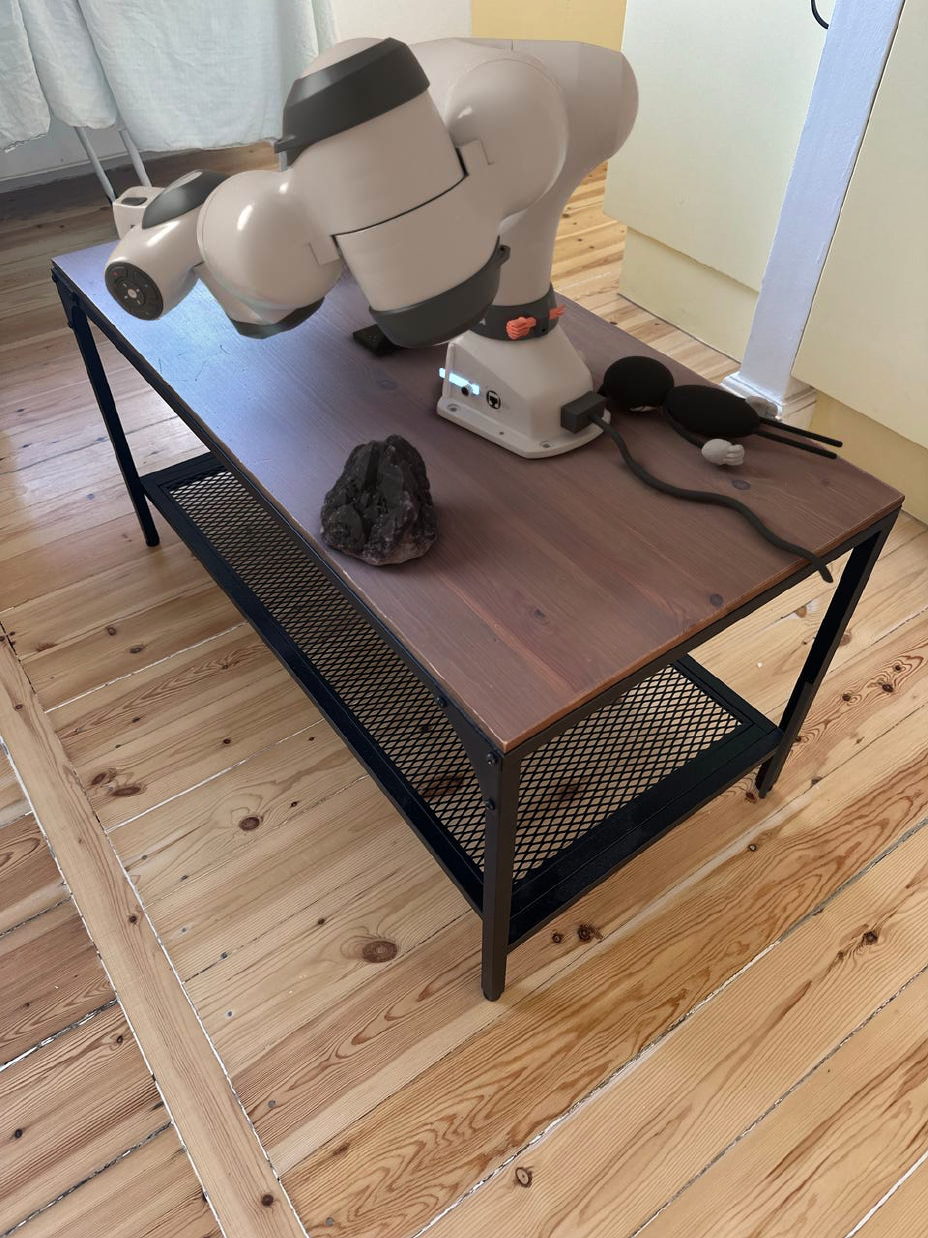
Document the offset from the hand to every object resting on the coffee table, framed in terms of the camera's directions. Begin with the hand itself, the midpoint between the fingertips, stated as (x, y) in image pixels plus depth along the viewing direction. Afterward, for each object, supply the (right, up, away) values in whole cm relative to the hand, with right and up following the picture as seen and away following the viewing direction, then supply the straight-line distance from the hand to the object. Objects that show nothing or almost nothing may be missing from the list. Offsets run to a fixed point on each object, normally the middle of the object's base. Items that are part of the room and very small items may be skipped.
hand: (223, 190), depth 121 cm
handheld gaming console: (+23, -18, +6) cm, 30 cm away
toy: (+74, -38, -17) cm, 85 cm away
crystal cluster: (+22, -47, -22) cm, 56 cm away
